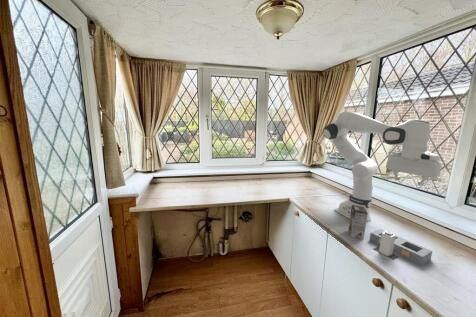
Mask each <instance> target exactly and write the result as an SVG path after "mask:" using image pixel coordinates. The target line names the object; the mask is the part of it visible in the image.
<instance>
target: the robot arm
mask: <svg viewBox="0 0 476 317" xmlns="http://www.w3.org/2000/svg"><path fill="white" fill-rule="evenodd" d="M351 133H360V134H377V135H378V134H379V135H382V137H381V138H382V141H383V143H385V144H386V145H389V146H402V147H401V151H400V152H397V151H392V152H390V153H388V156H387V161H386V165H385V168H386V169H387V170H388V171H389V170H390V171H392V173H393V176H394V180H395V181H400V180H401V176H399V172H401V173H406V174H410V175H411V174H412V175H415V176H421V180H417V185H418V186H421V187H422V186H424V183H425V182H426V181H427V180H428V179H429V178H431V179H436V178H438V177H440V175H441V167H442V166H441V163H440V159H441V156H440V155H439V154H435V153H433V152H430V151H428V143H429V140H430V135H431V123H430V122H429V121H427V120H425V119H417V118H416V119H415V118H410V119H408V120H407V121H405V122H403V123H400V124H398V125H392V124H390V123H389V124H388V123H385V122H381V121H379V120H376V119H373V118H372V117H369V116H366V115H364V114H361V113H357V112H355V111H354V112H353V111H342V112H340V113H339V114H338V116H337V117H336V120H334V121H332V122H330V123H329V124H327V125H325V126H324V128H323V130H322V134H323V136H324V137H325V138H326V139H327V140H331V142H332V143H333V145H334V147H335V149H336V150H337V151H338V153H340V155H341V156H342V158H343V159H344V160H345V161H347V162H348V163H349V164H350V165H352V166H353V167H352V170H351V174H352V180H353V181H352V182H353V185H352V194H349V195H348V199H346V200H343V201H342V202H340V203H339V204H338V206H336V207H335V208H334V211H335V212H337V213H338V214H340V215H342V216H344V217H346V218H347V219H349V220H350V215H351V208H352V205H356V206H361V207H364V208H365V210H366V211H367V213H368V214H367V220H366V222H369V221H371V220H372V218H371V207H372V200H373V199H372V196H373V177H374V176H375V175H376V174H377V172H378V170H379V166H378V164H377V163H376V162H375V161H374V160H372V159H371V158H370V157H369V156H368V155H366V154H365V153H364V152H363V151H362V150H361V149H360V148H359V147H358V146H357V145H356V144H355V142H353V140H352V139H351V138H350V137H349V134H351Z"/></svg>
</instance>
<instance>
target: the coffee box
mask: <svg viewBox="0 0 476 317" xmlns="http://www.w3.org/2000/svg"><path fill="white" fill-rule="evenodd" d="M367 214H368V213H367V211H366V210H365V208H364V207H361V206H356V205H352V208H351V215H350V219H349V222H348V233H349V235H350V237H351V238H355V239H359V240H364V238H365V231H366V226H367V221H366V220H367Z"/></svg>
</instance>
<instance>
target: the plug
mask: <svg viewBox="0 0 476 317" xmlns="http://www.w3.org/2000/svg"><path fill="white" fill-rule="evenodd" d="M396 236H397V235H396V234H394V233H393V232H391V231H387V230H385V232H383V233H382V236H381V242H380V245H379V247H380V248H379V252H380V253H379V252H378V253H379V254H381V253H382V254H381V255H383V254H384V255H383V256H385V255H386V256H385V257H387V256H390V255H392V254H394V252H393V248H394V242H395V237H396Z"/></svg>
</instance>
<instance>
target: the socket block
mask: <svg viewBox="0 0 476 317" xmlns="http://www.w3.org/2000/svg"><path fill="white" fill-rule="evenodd" d="M385 231H386V230H385V229H383V228H379V229H377V230H374V231H371V232H370V233H369V234H370V235H369V241H371V242H372V243H374V244H376V245H378V246H380V242H381V236H382V233H383V232H385ZM393 254H395V255H398V256H400V257H402V258H404V259H405V260H408V261H410V262H412V263H414V264H417V265H418V266H421V267H422V266H423V265H424V264H426V263H428V262H429V261H431V259H432V255H433V250H432V249H429V248H426V247H425V246H421V245H419V244H417V243H415V242H412V241H410V240H408V239H406V238H403V237H401V236H398V235H396V237H395V242H394V248H393Z"/></svg>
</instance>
